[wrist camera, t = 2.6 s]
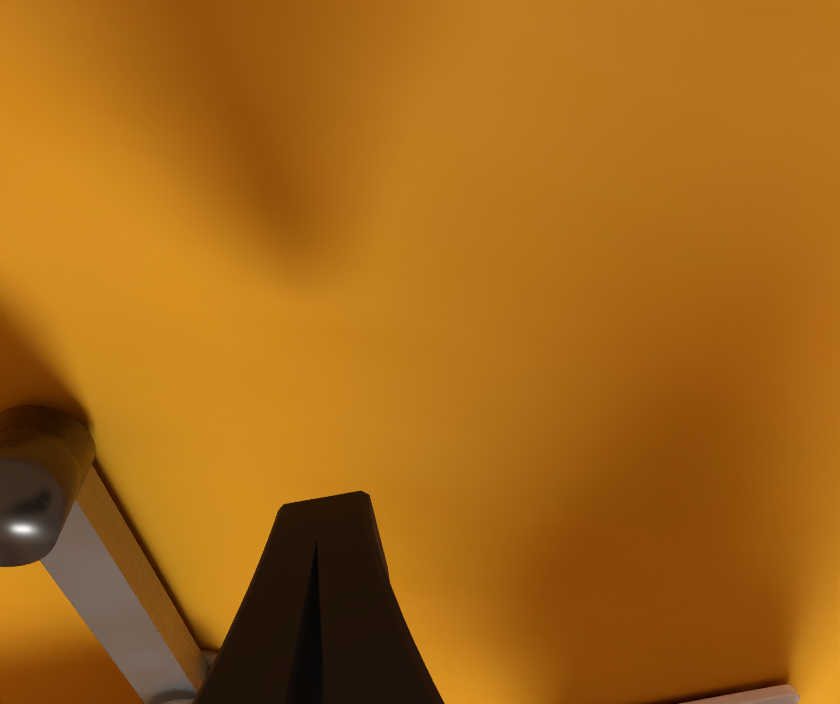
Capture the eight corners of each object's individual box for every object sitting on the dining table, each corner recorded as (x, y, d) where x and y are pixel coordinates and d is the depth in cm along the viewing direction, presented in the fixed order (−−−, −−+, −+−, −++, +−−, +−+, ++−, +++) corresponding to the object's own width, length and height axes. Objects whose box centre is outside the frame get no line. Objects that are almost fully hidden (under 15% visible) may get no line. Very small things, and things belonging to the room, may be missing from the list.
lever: (70, 397, 12) (24, 478, 11) (237, 694, 19) (226, 777, 17) (-34, 415, 12) (-97, 499, 10) (169, 707, 19) (151, 791, 17)
